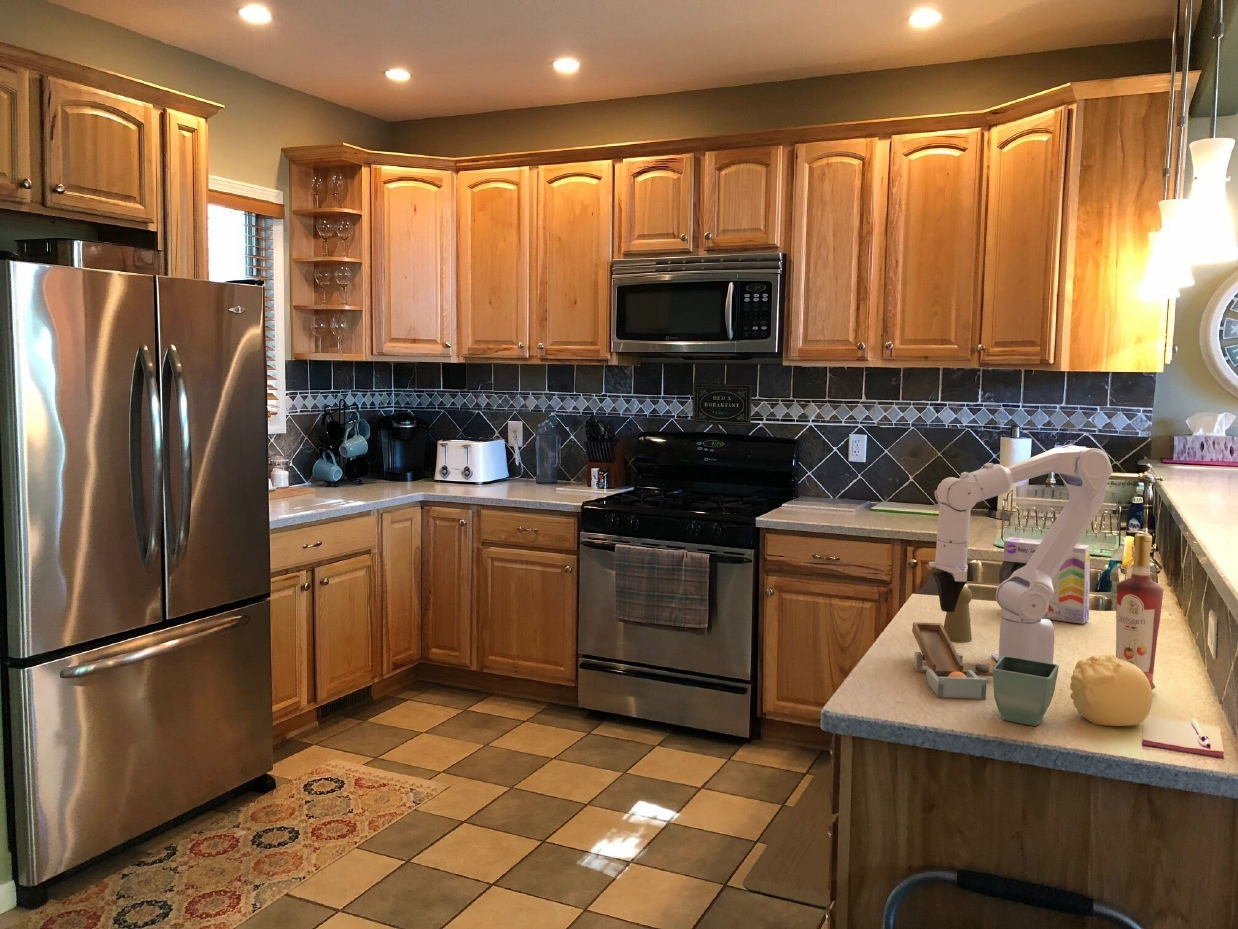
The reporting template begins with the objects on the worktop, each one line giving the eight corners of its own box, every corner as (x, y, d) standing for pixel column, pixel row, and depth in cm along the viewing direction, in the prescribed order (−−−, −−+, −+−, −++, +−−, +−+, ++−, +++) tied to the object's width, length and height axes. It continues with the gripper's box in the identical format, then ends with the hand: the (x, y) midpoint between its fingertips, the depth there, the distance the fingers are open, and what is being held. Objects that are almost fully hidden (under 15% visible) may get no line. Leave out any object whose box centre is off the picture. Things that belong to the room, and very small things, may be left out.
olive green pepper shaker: (940, 640, 208) (943, 588, 207) (942, 633, 214) (945, 582, 213) (971, 643, 206) (973, 591, 205) (972, 636, 212) (975, 585, 211)
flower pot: (1047, 733, 155) (1050, 678, 155) (988, 722, 160) (991, 668, 159) (1056, 717, 163) (1059, 664, 162) (999, 707, 168) (1002, 655, 167)
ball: (963, 686, 176) (965, 668, 176) (969, 695, 173) (971, 677, 172) (943, 686, 177) (945, 667, 176) (948, 695, 173) (950, 676, 172)
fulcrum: (958, 669, 188) (959, 652, 188) (962, 673, 186) (963, 656, 185) (913, 667, 189) (914, 651, 188) (916, 671, 186) (917, 655, 186)
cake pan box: (996, 611, 234) (1000, 537, 232) (1003, 608, 238) (1008, 535, 236) (1082, 626, 222) (1087, 548, 220) (1089, 622, 225) (1094, 545, 224)
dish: (970, 683, 180) (971, 664, 179) (985, 699, 171) (986, 679, 171) (926, 682, 180) (926, 663, 180) (938, 697, 172) (939, 678, 171)
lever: (969, 636, 196) (971, 624, 195) (994, 681, 180) (996, 667, 180) (910, 635, 197) (912, 622, 196) (930, 678, 181) (932, 665, 180)
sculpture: (1063, 705, 169) (1067, 643, 168) (1141, 713, 165) (1146, 650, 164) (1073, 728, 158) (1077, 662, 157) (1157, 737, 155) (1162, 670, 153)
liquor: (1162, 692, 177) (1174, 536, 174) (1146, 700, 172) (1157, 540, 169) (1120, 681, 182) (1130, 530, 179) (1103, 689, 177) (1113, 534, 175)
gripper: (921, 533, 196) (917, 601, 198) (941, 546, 182) (936, 619, 183) (958, 535, 196) (953, 602, 197) (980, 548, 182) (975, 621, 183)
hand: (947, 611), depth 190 cm, fingers closed
